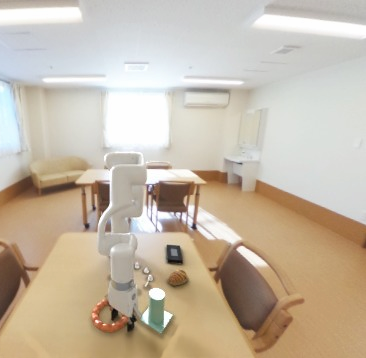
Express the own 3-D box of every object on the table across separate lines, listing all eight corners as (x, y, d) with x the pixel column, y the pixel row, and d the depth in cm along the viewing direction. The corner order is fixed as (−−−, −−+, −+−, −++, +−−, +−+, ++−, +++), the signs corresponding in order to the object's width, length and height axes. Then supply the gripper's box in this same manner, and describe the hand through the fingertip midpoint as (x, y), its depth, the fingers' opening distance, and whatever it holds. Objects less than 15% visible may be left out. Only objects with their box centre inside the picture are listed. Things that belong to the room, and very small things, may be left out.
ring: (84, 319, 76) (83, 314, 76) (109, 296, 87) (109, 291, 86) (112, 342, 68) (112, 336, 68) (136, 313, 79) (136, 308, 78)
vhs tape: (167, 262, 109) (167, 259, 108) (166, 247, 122) (166, 244, 122) (182, 263, 108) (182, 260, 107) (179, 248, 121) (179, 245, 121)
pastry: (176, 289, 90) (176, 282, 89) (164, 281, 95) (164, 274, 95) (189, 280, 96) (189, 273, 95) (177, 272, 101) (177, 265, 100)
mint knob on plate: (138, 321, 75) (139, 295, 73) (151, 305, 82) (152, 281, 80) (161, 336, 70) (162, 308, 67) (172, 317, 77) (174, 291, 74)
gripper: (150, 285, 68) (149, 329, 72) (110, 264, 78) (111, 304, 82) (137, 299, 62) (136, 347, 66) (95, 275, 72) (97, 318, 76)
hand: (122, 323), depth 74 cm, fingers open, 6 cm apart
